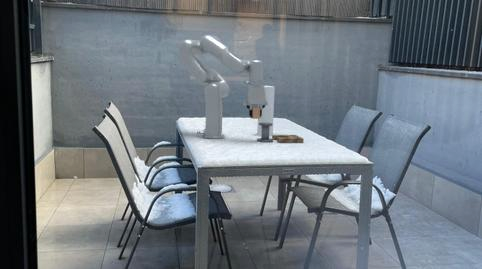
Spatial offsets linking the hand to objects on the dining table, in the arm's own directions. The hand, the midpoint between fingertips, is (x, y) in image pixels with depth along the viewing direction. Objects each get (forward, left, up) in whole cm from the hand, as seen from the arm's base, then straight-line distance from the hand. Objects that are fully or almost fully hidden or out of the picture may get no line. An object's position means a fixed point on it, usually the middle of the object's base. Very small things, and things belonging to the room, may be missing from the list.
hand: (255, 116), depth 250 cm
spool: (+6, +2, -14) cm, 15 cm away
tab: (0, 0, -1) cm, 1 cm away
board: (+19, +2, -14) cm, 24 cm away
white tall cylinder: (+12, +24, -14) cm, 31 cm away
